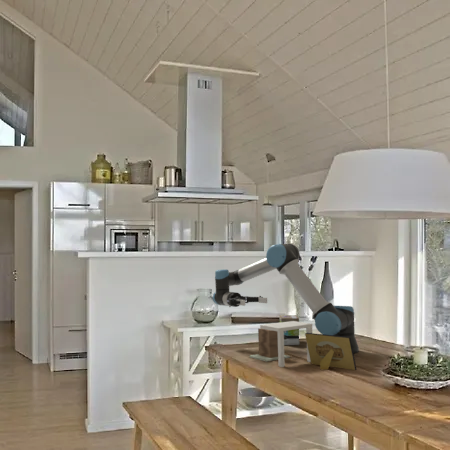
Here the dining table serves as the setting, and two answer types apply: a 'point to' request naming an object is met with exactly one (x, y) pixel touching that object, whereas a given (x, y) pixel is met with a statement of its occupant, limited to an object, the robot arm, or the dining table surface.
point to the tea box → (290, 335)
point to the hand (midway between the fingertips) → (255, 301)
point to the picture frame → (330, 351)
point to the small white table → (280, 331)
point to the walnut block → (268, 343)
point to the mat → (266, 357)
